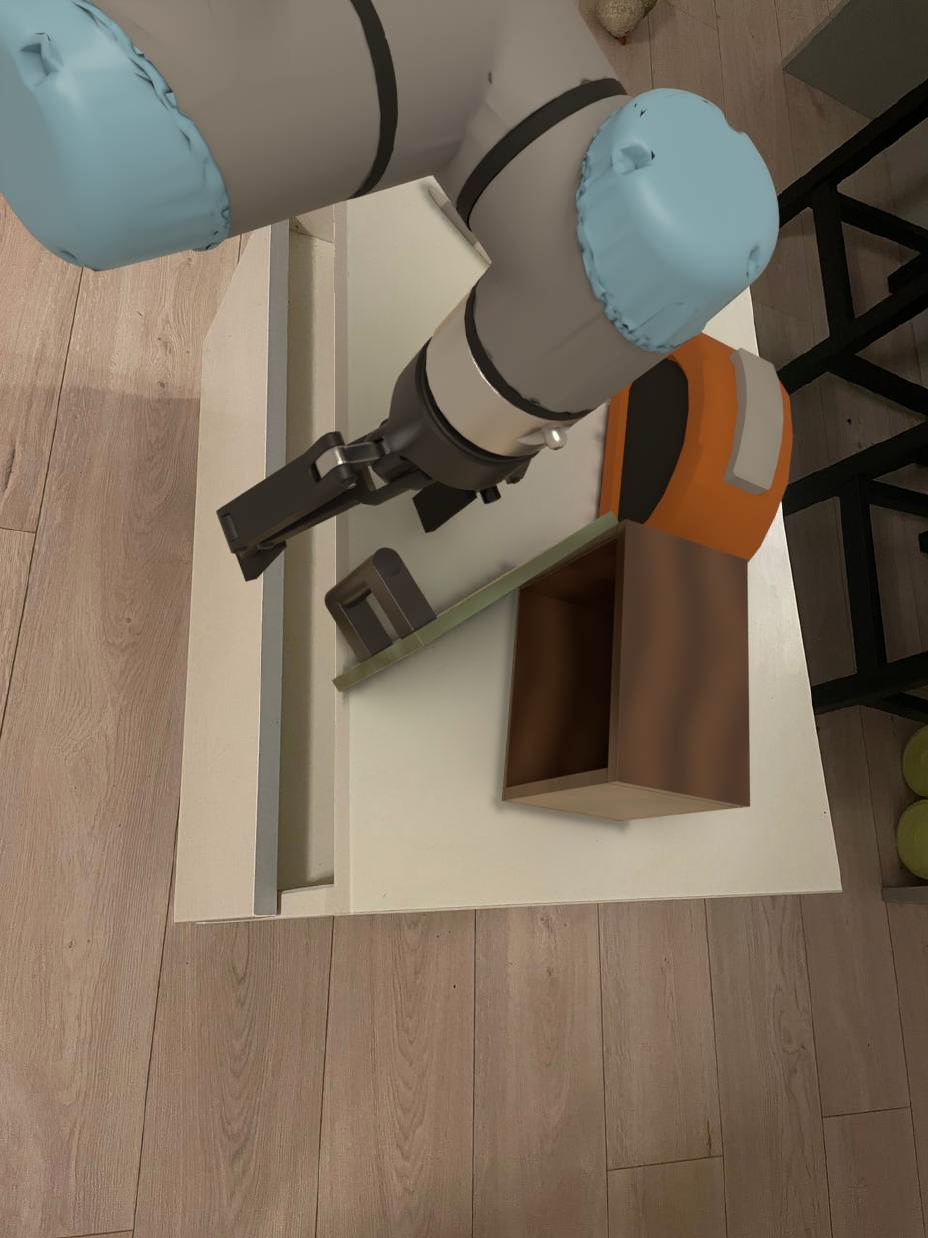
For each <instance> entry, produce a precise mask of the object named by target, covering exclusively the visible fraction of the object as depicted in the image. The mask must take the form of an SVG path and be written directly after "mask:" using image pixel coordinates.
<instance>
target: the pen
mask: <svg viewBox="0 0 928 1238" xmlns="http://www.w3.org/2000/svg"><path fill="white" fill-rule="evenodd" d="M428 191H429V193H430V195H431V197H432V199H433V200H434V201H435V203H436V205H437V206H438V207H439V208H440V210H441V211H442V213H443V214H444V215H445V217H447V218H448V219H449V221H450V222H451V223H452V224H453V225H454V226H455V228H456V229H457V230H458V231H459V232H460V234H462V235H463V237H464V238H465V239H466V241H468V243H469V244H470V245H471V246H472V247H473V249H474V250H475V251H476V252H478V253H479V255H480V256H481V257H482V259H484V260H485V262H486V263H487V264H488V265H489V266H490V264H491V260H490V259H489V257H488V255H487V254H486V252H485V251H484V249H483V248H482V246H481V245H480V243H479V241H478V240H477V238H476V237H475V235H474V234H473V232H471V231H469V230H468V228H467V226H466V225H465V223H464V222H463V220H462V219H461V217H460V215H459V214H458V213H457V211H456V210H455V208H454V207H453V205H452V204H451V202H450V201H449V199H448V198H447V197H446V196H445V195H444V194H442V192H441V191H439V190H438V189H436V188H435V187H432V186H428Z"/></svg>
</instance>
